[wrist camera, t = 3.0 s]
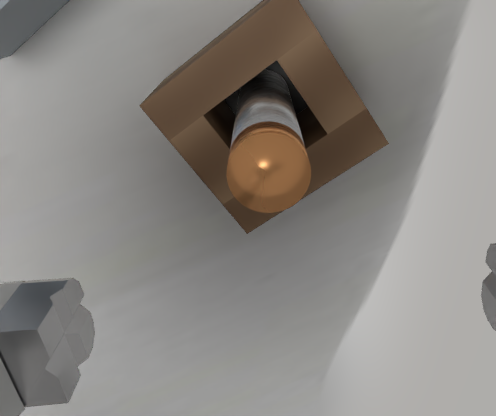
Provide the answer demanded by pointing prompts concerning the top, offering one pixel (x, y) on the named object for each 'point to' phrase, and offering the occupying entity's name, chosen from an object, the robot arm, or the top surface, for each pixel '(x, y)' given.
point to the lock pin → (267, 147)
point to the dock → (23, 21)
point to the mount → (240, 72)
